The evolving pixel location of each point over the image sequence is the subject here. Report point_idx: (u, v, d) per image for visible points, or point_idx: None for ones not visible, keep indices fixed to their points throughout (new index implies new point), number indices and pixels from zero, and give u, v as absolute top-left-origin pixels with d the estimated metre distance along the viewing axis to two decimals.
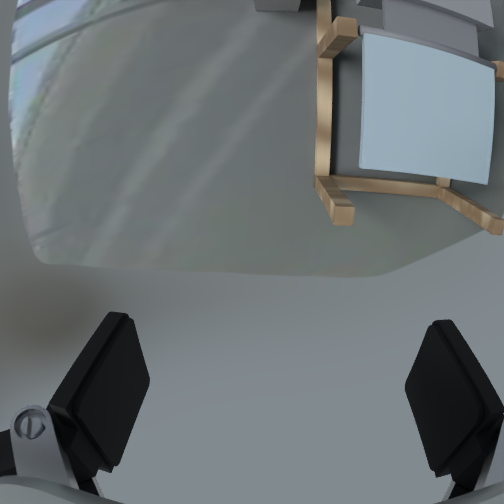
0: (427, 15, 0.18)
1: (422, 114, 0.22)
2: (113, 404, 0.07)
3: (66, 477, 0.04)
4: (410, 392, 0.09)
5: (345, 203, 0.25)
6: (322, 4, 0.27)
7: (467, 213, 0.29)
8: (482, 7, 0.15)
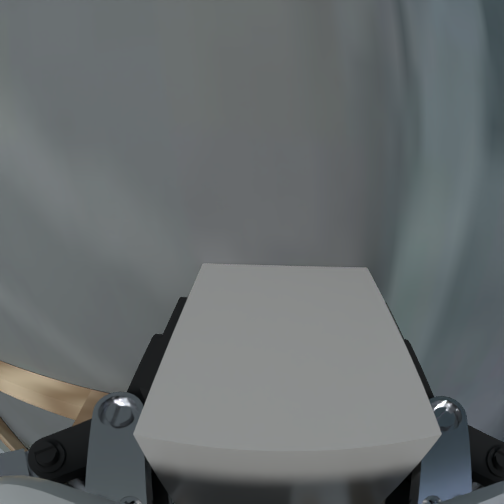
0: None
1: None
2: None
3: (143, 476, 0.04)
4: None
5: None
6: None
7: None
8: None
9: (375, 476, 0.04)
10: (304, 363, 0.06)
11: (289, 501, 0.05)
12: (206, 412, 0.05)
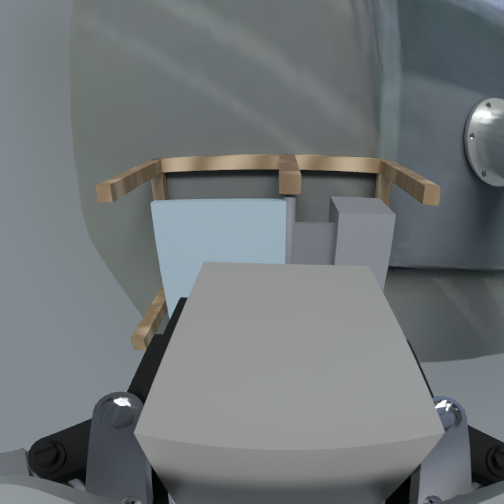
0: None
1: (213, 259, 0.29)
2: None
3: (143, 476, 0.04)
4: None
5: (116, 192, 0.26)
6: (341, 162, 0.35)
7: (149, 312, 0.37)
8: None
9: (378, 475, 0.04)
10: (306, 361, 0.06)
11: (291, 501, 0.05)
12: (208, 411, 0.05)
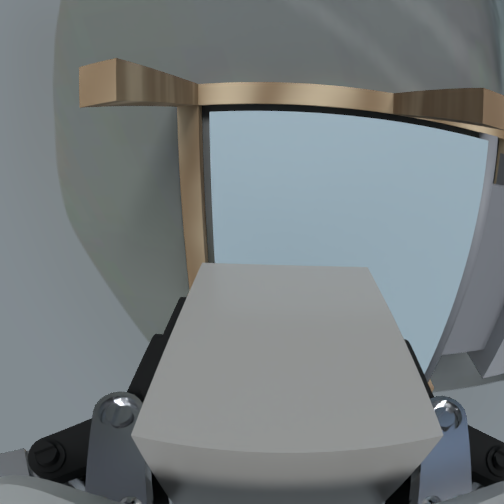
0: None
1: (344, 249, 0.13)
2: None
3: (143, 476, 0.04)
4: None
5: (128, 86, 0.10)
6: None
7: None
8: None
9: (376, 477, 0.04)
10: (304, 363, 0.06)
11: (289, 503, 0.05)
12: (205, 414, 0.05)
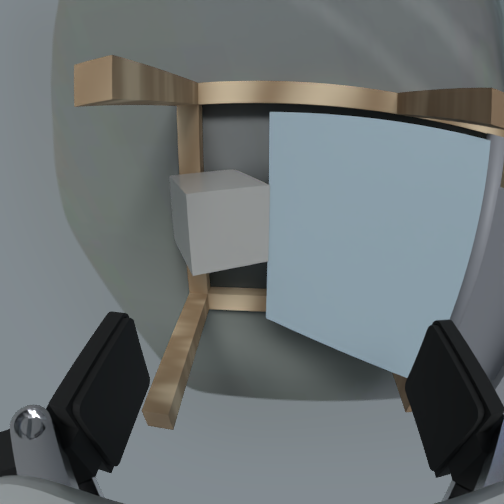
0: None
1: (351, 221, 0.16)
2: (113, 404, 0.07)
3: (66, 477, 0.04)
4: (410, 392, 0.09)
5: (124, 84, 0.09)
6: None
7: (170, 352, 0.20)
8: None
9: None
10: (206, 176, 0.21)
11: None
12: (223, 171, 0.22)
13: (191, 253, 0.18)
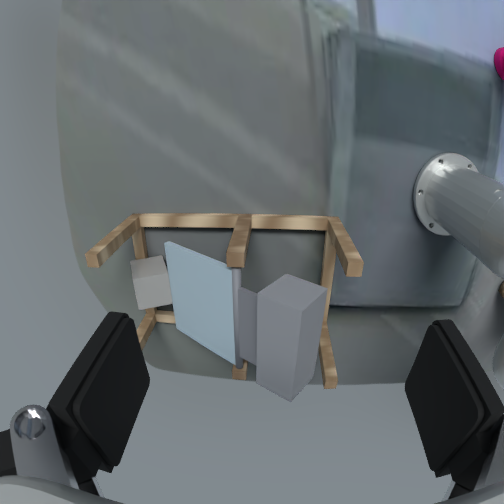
0: (256, 329, 0.34)
1: (194, 293, 0.39)
2: (113, 404, 0.07)
3: (66, 477, 0.04)
4: (410, 392, 0.09)
5: (102, 259, 0.33)
6: (292, 222, 0.42)
7: None
8: (269, 383, 0.34)
9: None
10: (145, 263, 0.44)
11: None
12: (155, 258, 0.46)
13: (137, 301, 0.42)
